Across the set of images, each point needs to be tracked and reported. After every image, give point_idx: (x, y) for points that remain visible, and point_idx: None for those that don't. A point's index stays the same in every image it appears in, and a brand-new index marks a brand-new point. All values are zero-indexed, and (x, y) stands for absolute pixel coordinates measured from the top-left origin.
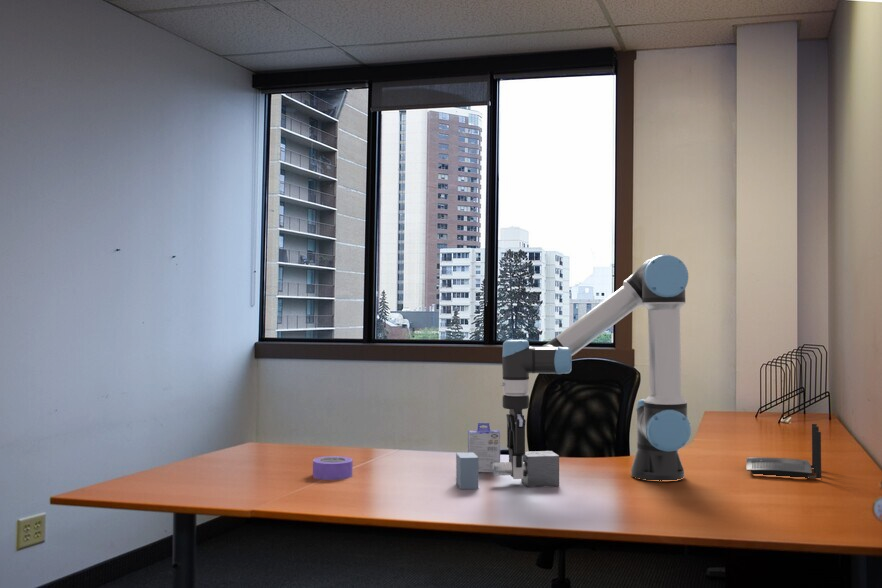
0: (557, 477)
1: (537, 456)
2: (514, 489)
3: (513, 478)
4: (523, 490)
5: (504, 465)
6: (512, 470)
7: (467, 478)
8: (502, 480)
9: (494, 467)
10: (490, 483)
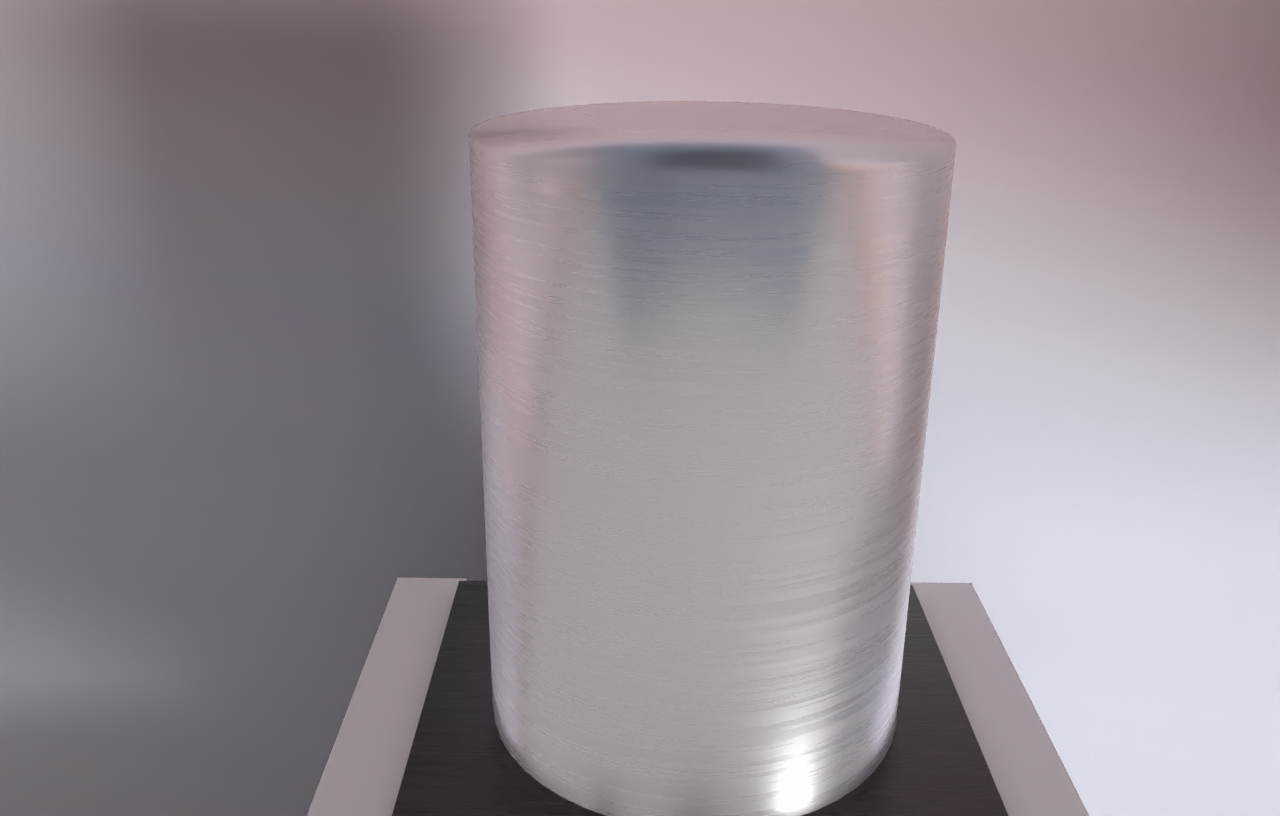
0: None
1: None
2: (192, 456)
3: (418, 583)
4: (96, 607)
5: (529, 549)
6: (442, 686)
7: None
8: (1164, 399)
9: (479, 145)
10: (907, 36)
